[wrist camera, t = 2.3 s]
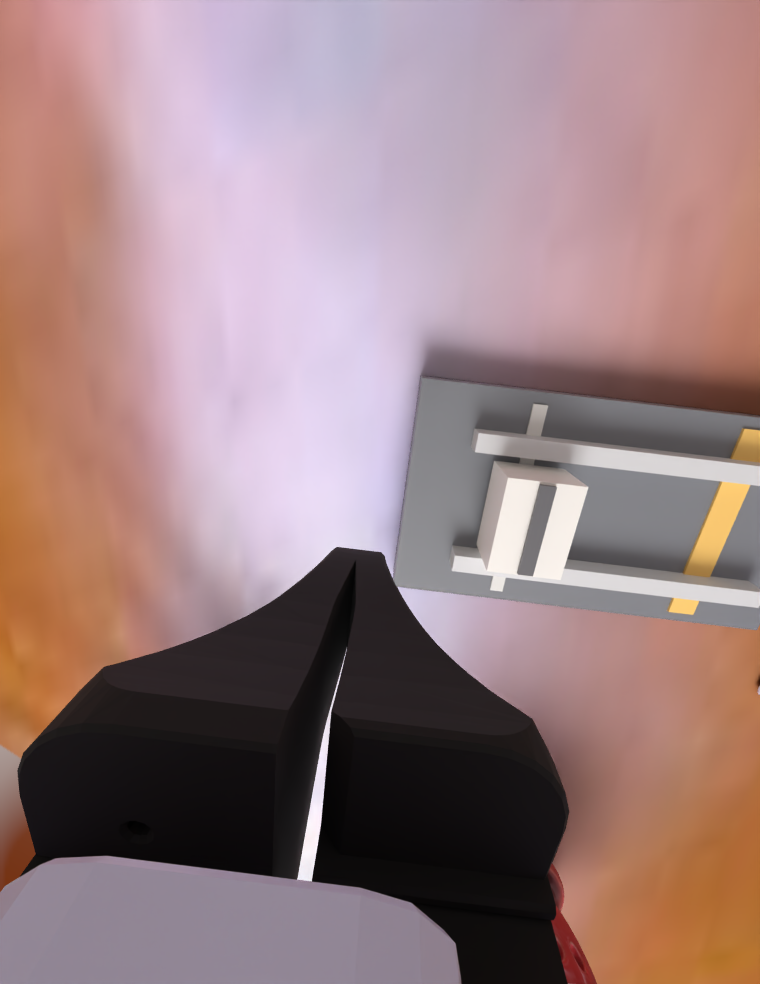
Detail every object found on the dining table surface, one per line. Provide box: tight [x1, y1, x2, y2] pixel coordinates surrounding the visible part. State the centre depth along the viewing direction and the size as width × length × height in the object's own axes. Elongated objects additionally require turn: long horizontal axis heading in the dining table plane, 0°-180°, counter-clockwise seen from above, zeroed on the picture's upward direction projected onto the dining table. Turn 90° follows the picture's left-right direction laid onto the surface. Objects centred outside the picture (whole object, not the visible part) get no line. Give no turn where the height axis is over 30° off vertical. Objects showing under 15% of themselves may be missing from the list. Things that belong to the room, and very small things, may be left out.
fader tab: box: [477, 461, 588, 580], centre depth 17 cm, size 3×4×3 cm
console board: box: [393, 376, 760, 630], centre depth 19 cm, size 18×10×2 cm, turn 84°
